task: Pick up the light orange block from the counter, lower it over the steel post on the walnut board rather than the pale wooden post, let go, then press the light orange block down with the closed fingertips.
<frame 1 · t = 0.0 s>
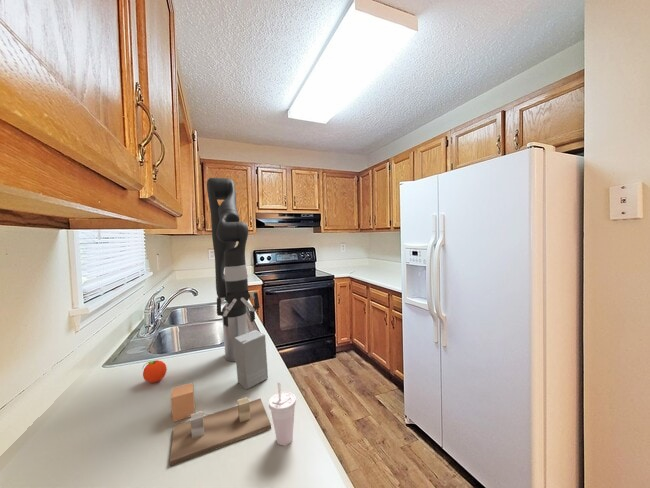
hand: (239, 323, 95), 17 cm above the worktop, tool pointing down, fingers open, 8 cm apart
post board: (222, 428, 68), on the worktop
smoothie: (284, 439, 63), on the worktop
tomato: (154, 381, 92), on the worktop
skincare box: (253, 382, 89), on the worktop
light orange block: (184, 412, 75), on the worktop
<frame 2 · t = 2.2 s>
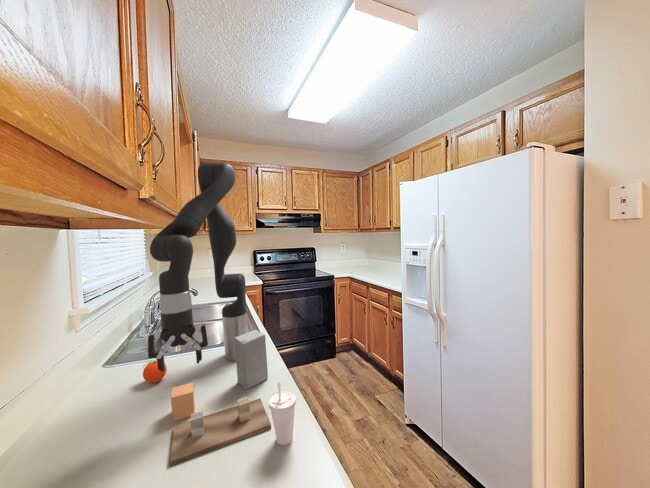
hand: (180, 366, 74), 13 cm above the worktop, tool pointing down, fingers open, 8 cm apart
nothing on the worktop moved.
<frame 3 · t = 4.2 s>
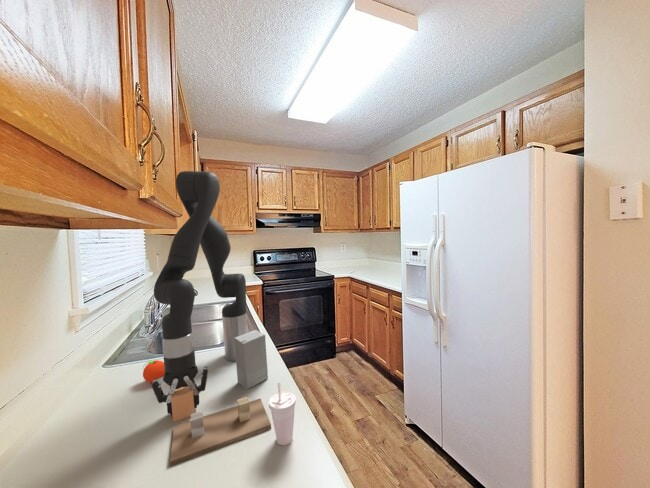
hand: (184, 409, 75), 1 cm above the worktop, tool pointing down, fingers closed on light orange block, 5 cm apart
light orange block: (184, 412, 75), on the worktop, touching gripper
everything else where it was.
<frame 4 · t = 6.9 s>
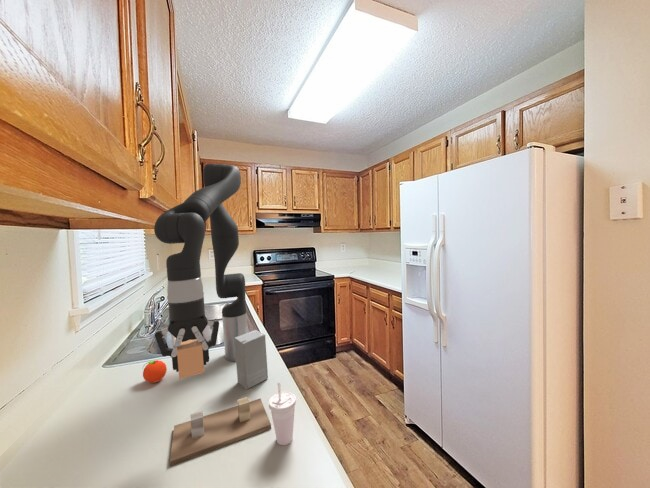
hand: (191, 366, 64), 18 cm above the worktop, tool pointing down, fingers closed on light orange block, 5 cm apart
light orange block: (192, 370, 64), point 17 cm above the worktop, touching gripper
everything else where it was.
when the fingers open (3 cm above the worktop, at t = 9.8 s): light orange block drops 1 cm, resting on post board.
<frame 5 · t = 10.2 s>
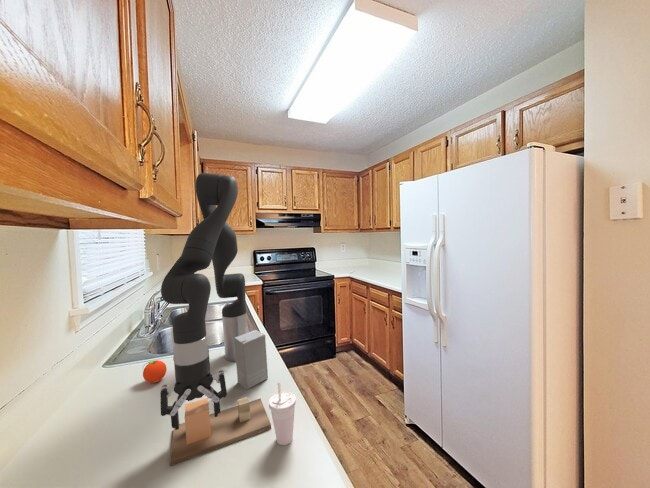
hand: (197, 421, 65), 4 cm above the worktop, tool pointing down, fingers open, 8 cm apart
light orange block: (199, 433, 65), point 1 cm above the worktop, touching post board
everything else where it was.
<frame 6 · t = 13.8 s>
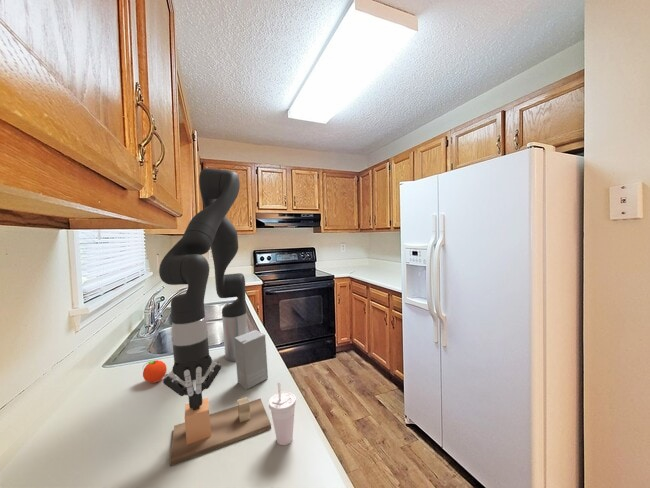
hand: (196, 407, 65), 8 cm above the worktop, tool pointing down, fingers closed
light orange block: (199, 433, 65), point 1 cm above the worktop, touching gripper, post board
everything else where it was.
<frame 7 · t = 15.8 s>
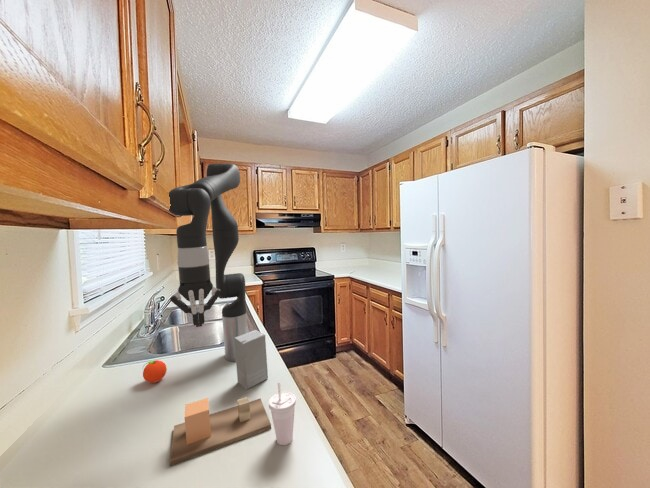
hand: (199, 325, 74), 24 cm above the worktop, tool pointing down, fingers closed
light orange block: (199, 433, 65), point 1 cm above the worktop, touching post board
everything else where it was.
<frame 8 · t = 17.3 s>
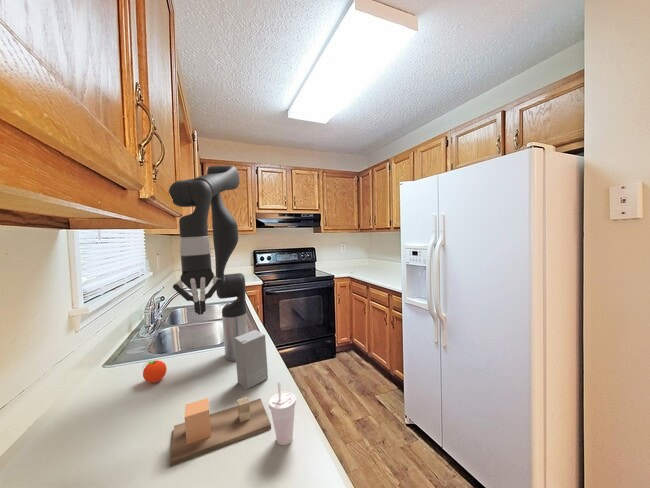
hand: (200, 313, 76), 27 cm above the worktop, tool pointing down, fingers closed
nothing on the worktop moved.
at the end: light orange block 0.2 cm from the target spot on the post board, point 1.0 cm above the post board's base; light orange block tilted 0°; the gripper is holding nothing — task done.
